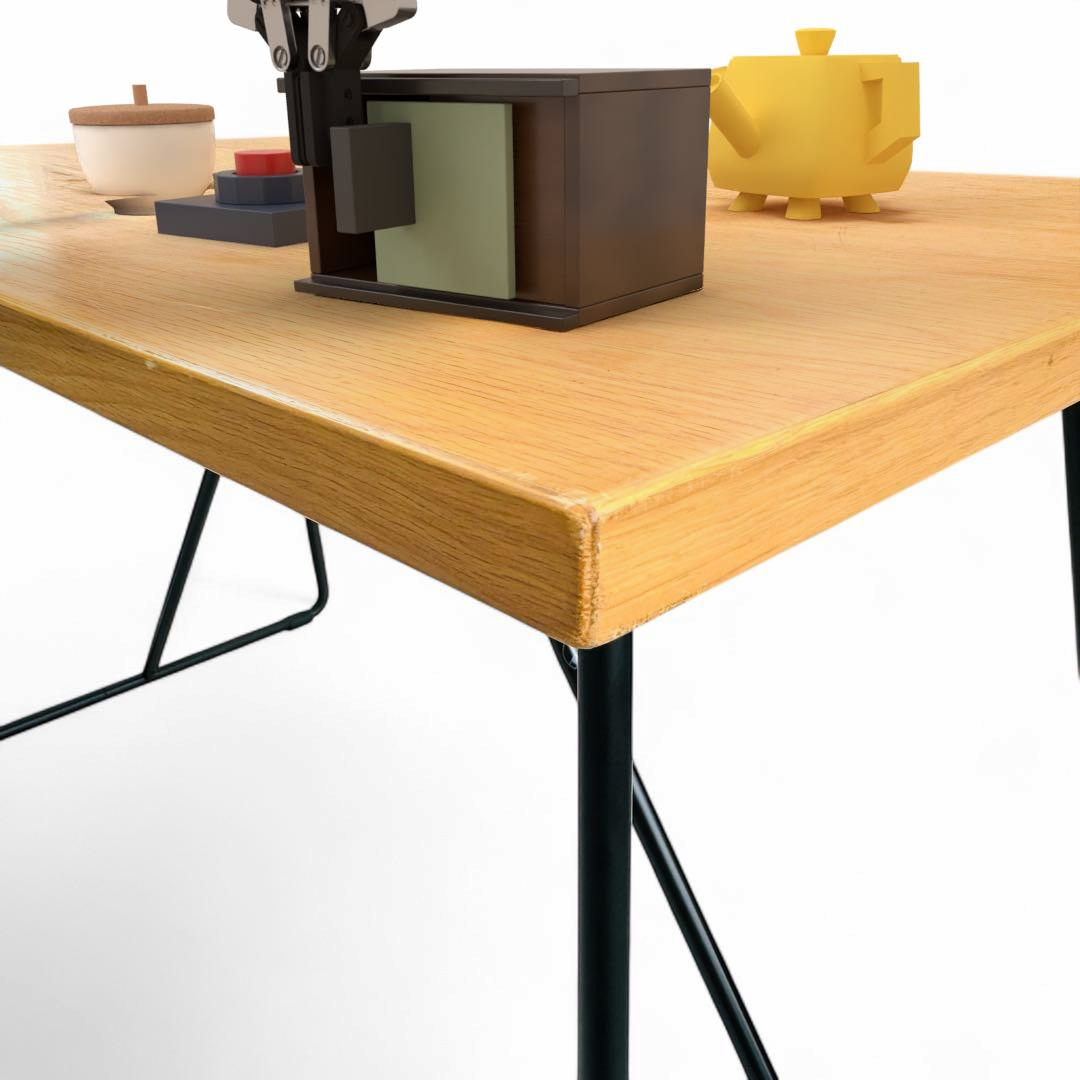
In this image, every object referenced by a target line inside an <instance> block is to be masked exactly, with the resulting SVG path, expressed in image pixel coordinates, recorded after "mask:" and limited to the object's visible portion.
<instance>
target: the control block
mask: <svg viewBox="0 0 1080 1080" xmlns="http://www.w3.org/2000/svg"><path fill="white" fill-rule="evenodd" d="M212 180H213V189H214V193H211V194H203V196H194V197H186V198H178V199H169V200H161V201H155V202H154V205H155V213H156V215H155V220H156V227H157V234H160V235H167V236H173V237H174V236H176V237H182V238H183V237H184V238H192V239H200V240H208V241H215V242H216V241H217V242H224V243H234V244H242V245H250V246H251V245H252V246H257V247H258V246H259V247H266V248H267V247H268V248H275V249H276V248H281V247H288V246H294V245H300V244H305V243H308V233H307V220H306V208H305V196H304V184H303V171H302V167H296V173H291V174H280V175H236V168H235V169H226V170H221V171H217V172H214V173H213V176H212Z"/></svg>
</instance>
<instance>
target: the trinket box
mask: <svg viewBox="0 0 1080 1080" xmlns="http://www.w3.org/2000/svg"><path fill="white" fill-rule="evenodd" d="M131 88H132V89H131V90H132V95H133V103H122V104H121V103H119V104H118V103H117V104H101V105H89V106H86V105H85V106H80V107H73V108H70V109H68V120H69V123H70V124H71V129H72V134H73V141H74V145H75V151H76V155H77V158H78V162H79V166H80V168H81V170H82V174H83V176H84V177H85V179H86V181H87V182H88V185H89V187H91V189H92V190H93V192H94V193H96V194H98V195H99V194H100V195H107V196H134V197H125V198H117V199H109V200H108V199H107V200H104V203H106V204H107V205H108V206H110V207H112V209H113V211H114V215H115V214H116V215H119V216H137V217H138V216H140V217H141V216H156V213H155V205H154V202H155V201H161V200H169V199H178V198H186V197H194V196H203V195H205V193H206V192H207V189H208V188H209V186H210V184H211V183H212V180H213V173H215V167H216V159H217V158H216V156H217V155H216V154H217V150H216V149H217V142H216V128H215V121H214V120H215V119H216V115H215V114H216V113H215V108H214V106H212V105H210V104H200V103H180V102H179V103H177V102H176V103H173V102H172V103H171V102H169V103H167V102H166V103H164V102H163V103H161V102H159V103H157V102H156V103H155V102H154V103H153V102H152V103H149V98H148V91H147V90H148V89H147V84H143V83H142V84H141V83H140V84H131Z"/></svg>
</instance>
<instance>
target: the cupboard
mask: <svg viewBox="0 0 1080 1080" xmlns="http://www.w3.org/2000/svg"><path fill="white" fill-rule="evenodd" d="M711 69H712V68H710V67H686V68H685V67H679V68H677V67H671V68H670V67H669V68H668V67H667V68H666V67H665V68H663V67H662V68H661V67H659V68H658V67H654V68H653V67H652V68H651V67H648V68H647V67H646V68H644V67H643V68H640V67H639V68H638V67H635V68H631V67H630V68H629V67H624V68H623V67H622V68H619V67H618V68H617V67H616V68H615V67H614V68H613V67H611V68H610V67H608V68H602V67H599V68H597V67H595V68H594V67H593V68H589V67H587V68H585V67H583V68H580V67H579V68H573V67H572V68H570V67H569V68H567V67H563V68H558V67H556V68H553V67H551V68H550V67H549V68H544V67H543V68H538V67H537V68H530V67H529V68H416V69H415V68H414V69H413V68H411V69H382V70H379V69H377V70H360V73H361V89H362V104H363V119H364V124H368V115H367V101H425V102H478V103H511V104H512V127H513V181H514V235H515V288H516V297H515V298H513V299H509V300H506V299H498V298H491V297H484V296H476V295H469V294H461V293H454V292H446V291H439V290H431V289H424V288H417V287H409V286H402V285H394V284H387V283H379V282H378V279H377V262H376V246H375V231H370V232H364V233H359V234H352V233H342V232H338V231H337V218H336V205H335V191H334V177H333V166H329V167H313V166H301V168H302V171H303V184H304V196H305V208H306V220H307V233H308V242H307V243H308V256H309V257H308V258H309V268H310V276H309V277H303V278H300V279H295V280H294V281H293V285H294V286H293V288H294V292H296V293H302V294H309V295H315V296H319V297H320V296H321V297H328V298H333V297H334V299H340V298H342V299H341V300H347V299H348V301H355V300H356V301H355V302H360V301H362V303H367V302H369V303H368V304H374V303H377V304H376V305H381V304H383V305H382V306H387V305H388V307H394V306H395V308H401V309H407V308H408V309H409V310H414V311H415V310H416V311H421V312H429V313H434V314H435V313H436V314H442V315H448V316H454V317H455V316H456V317H462V318H468V319H476V320H483V321H489V322H495V323H496V322H497V323H502V324H508V325H509V324H510V325H516V326H523V327H530V328H536V329H543V330H549V331H557V332H566V331H569V330H573V329H575V328H577V327H582V326H585V325H589V324H591V323H595V322H597V321H601V320H605V319H607V318H610V317H615V316H617V315H620V314H624V313H627V312H630V311H635V310H637V309H640V308H643V307H647V306H650V305H653V304H656V303H660V302H663V301H667V300H669V299H673V298H676V297H679V295H680V296H682V294H683V295H686V294H688V293H687V292H689V293H692V292H691V291H693V290H696V291H698V290H697V289H699V290H701V289H700V288H702V287H704V270H705V269H704V268H705V247H706V246H705V245H706V244H705V242H706V215H707V194H708V192H707V191H708V171H709V170H708V144H709V131H710V120H711V119H710V93H711V87H710V85H711ZM276 91H277V93H278V94H285V82H284V77H277V78H276ZM702 289H703V288H702ZM693 292H694V291H693ZM685 293H686V294H685Z"/></svg>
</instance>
